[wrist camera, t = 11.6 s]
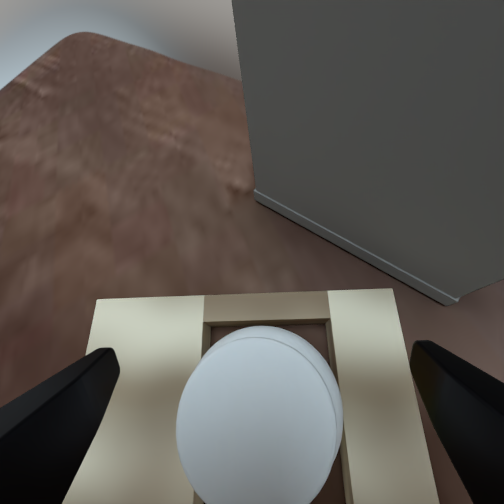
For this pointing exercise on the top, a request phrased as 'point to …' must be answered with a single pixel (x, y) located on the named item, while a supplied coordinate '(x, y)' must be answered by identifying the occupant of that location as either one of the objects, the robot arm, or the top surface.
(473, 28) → the cassette tape recorder
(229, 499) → the supplement bottle
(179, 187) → the top surface
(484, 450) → the robot arm
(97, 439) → the notched board
